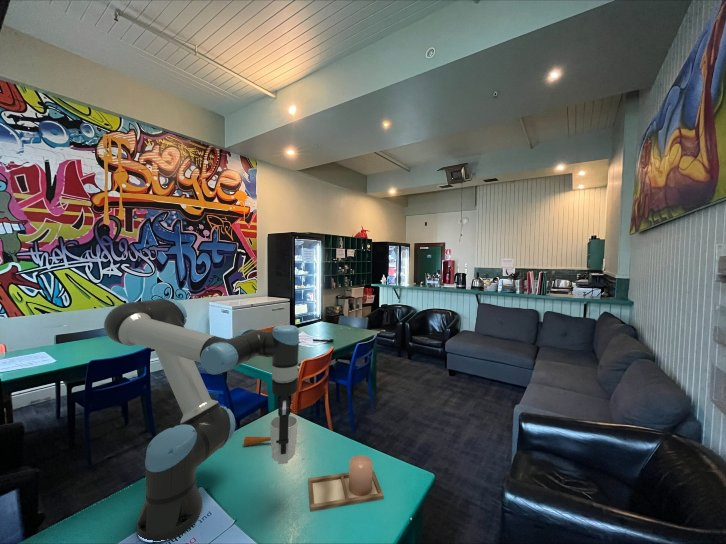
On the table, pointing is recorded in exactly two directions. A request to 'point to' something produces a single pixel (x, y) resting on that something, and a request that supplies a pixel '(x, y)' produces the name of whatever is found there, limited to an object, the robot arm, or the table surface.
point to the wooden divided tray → (338, 492)
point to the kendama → (255, 440)
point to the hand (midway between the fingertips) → (283, 453)
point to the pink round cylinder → (360, 475)
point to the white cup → (291, 436)
